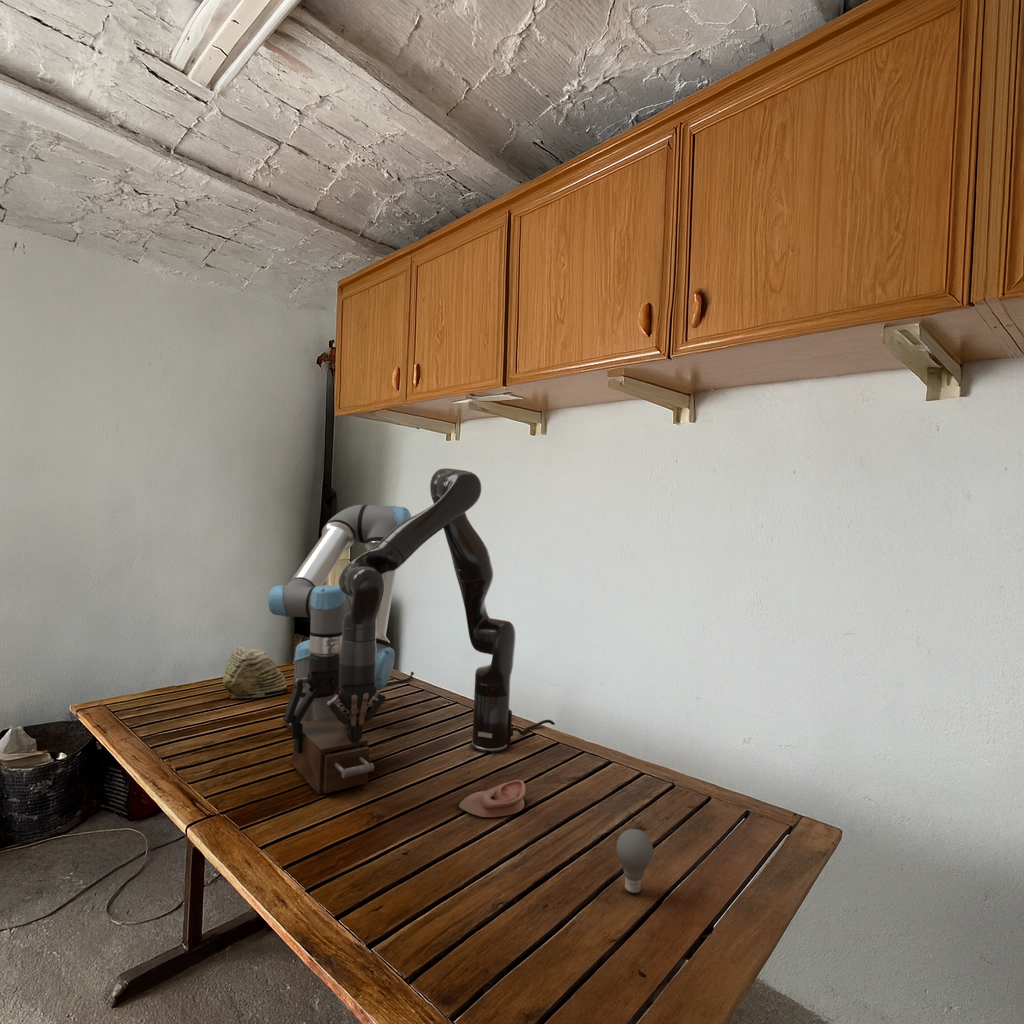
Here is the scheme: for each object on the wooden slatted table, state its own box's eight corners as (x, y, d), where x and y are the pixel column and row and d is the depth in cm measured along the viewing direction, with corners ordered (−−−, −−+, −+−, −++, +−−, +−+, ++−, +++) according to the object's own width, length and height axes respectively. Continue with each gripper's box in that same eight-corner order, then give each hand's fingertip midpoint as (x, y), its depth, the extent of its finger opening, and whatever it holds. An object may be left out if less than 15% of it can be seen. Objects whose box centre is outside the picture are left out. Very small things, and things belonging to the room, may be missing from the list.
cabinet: (366, 783, 141) (368, 739, 141) (318, 795, 134) (320, 749, 134) (336, 755, 155) (338, 715, 155) (292, 765, 149) (294, 723, 148)
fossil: (218, 695, 195) (220, 647, 195) (278, 685, 208) (279, 640, 207) (228, 703, 189) (230, 653, 188) (289, 692, 201) (290, 645, 201)
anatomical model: (455, 794, 129) (470, 770, 140) (454, 813, 129) (469, 788, 140) (519, 803, 126) (529, 778, 137) (518, 822, 126) (528, 796, 137)
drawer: (379, 794, 134) (381, 757, 134) (336, 805, 128) (337, 767, 128) (339, 756, 152) (341, 724, 152) (300, 765, 146) (301, 732, 146)
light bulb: (610, 879, 108) (613, 822, 108) (644, 879, 109) (647, 822, 109) (619, 902, 102) (622, 840, 102) (655, 901, 103) (658, 840, 103)
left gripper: (280, 662, 138) (276, 762, 138) (379, 650, 152) (375, 741, 152) (270, 654, 144) (266, 750, 144) (366, 644, 158) (362, 731, 158)
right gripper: (334, 667, 126) (330, 754, 126) (394, 660, 134) (391, 741, 134) (320, 659, 132) (317, 741, 132) (379, 652, 140) (375, 730, 140)
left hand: (322, 746), depth 148 cm, fingers closed on cabinet, 11 cm apart
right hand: (354, 741), depth 133 cm, fingers closed
